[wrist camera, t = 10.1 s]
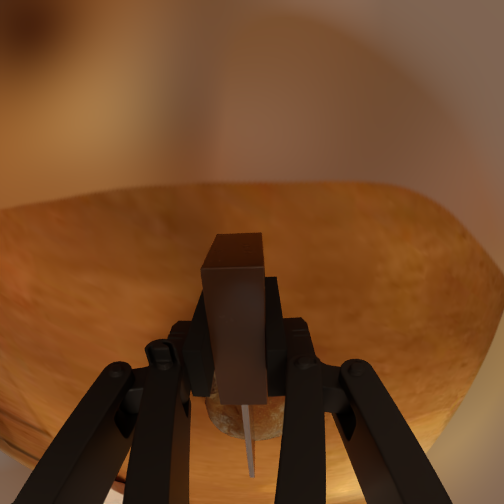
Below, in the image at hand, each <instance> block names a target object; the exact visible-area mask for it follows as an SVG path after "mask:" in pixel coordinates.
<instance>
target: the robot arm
mask: <svg viewBox="0 0 504 504" xmlns="http://www.w3.org/2000/svg"><path fill="white" fill-rule="evenodd" d="M265 307H266V361H267V389H268V397H277V396H285V406H284V418H283V429H282V440H281V450H280V459H279V469H278V477H277V486H276V494H275V502H274V504H326V452H325V421H324V412H330V413H332V416H333V418H334V421H335V423H336V426H337V428H338V431H339V433H340V436H341V438H342V441H343V443H344V446H345V448H346V451H347V453H348V456H349V459H350V461H351V464H352V466H353V469H354V471H355V474H356V476H357V479H358V482H359V484H360V487H361V489H362V492H363V495H364V497H365V500H366V502H367V504H452V502H451V500H450V498H449V496H448V494H447V492H446V490H445V488H444V487H443V485H442V483H441V481H440V479H439V478H438V476H437V474H436V472H435V470H434V469H433V467H432V465H431V463H430V462H429V460H428V458H427V457H426V455H425V453H424V451H423V449H422V448H421V446H420V444H419V442H418V441H417V439H416V437H415V436H414V434H413V432H412V431H411V429H410V427H409V426H408V424H407V422H406V421H405V419H404V417H403V416H402V414H401V412H400V411H399V409H398V407H397V406H396V404H395V403H394V401H393V399H392V398H391V396H390V395H389V393H388V391H387V390H386V388H385V387H384V385H383V383H382V382H381V380H380V379H379V377H378V375H377V374H376V372H375V371H374V369H373V368H372V366H371V365H370V364H369V363H368V362H366V361H364V360H360V359H350V360H347V361H345V362H344V363H343V364H342V365H341V367H337V366H330V365H326V364H324V363H322V362H321V361H320V359H319V358H318V357H317V356H316V355H315V352H314V348H313V344H312V340H311V337H310V333H309V329H308V326H307V323H306V322H305V321H304V320H303V319H302V318H301V317H299V318H283V316H282V309H281V303H280V296H279V290H278V284H277V277H265ZM145 352H146V355H147V359H148V362H149V366H148V367H144V368H137V369H132V368H131V366H130V365H129V364H128V363H126V362H121V361H118V362H113V363H111V364H109V365H108V366H107V367H105V368H104V370H103V371H102V372H101V374H100V375H99V376H98V378H97V379H96V381H95V382H94V383H93V385H92V386H91V387H90V389H89V390H88V391H87V393H86V394H85V396H84V397H83V398H82V400H81V401H80V402H79V404H78V405H77V407H76V408H75V409H74V411H73V412H72V414H71V415H70V417H69V418H68V419H67V421H66V422H65V424H64V425H63V427H62V428H61V429H60V431H59V432H58V434H57V435H56V437H55V438H54V440H53V441H52V443H51V444H50V446H49V447H48V449H47V450H46V452H45V453H44V455H43V456H42V458H41V459H40V461H39V462H38V464H37V465H36V467H35V468H34V470H33V472H32V473H31V475H30V476H29V478H28V480H27V481H26V483H25V484H24V486H23V488H22V489H21V491H20V493H19V494H18V496H17V498H16V499H15V501H14V502H13V503H12V504H103V503H104V501H105V499H106V497H107V495H108V493H109V491H110V489H111V487H112V485H113V482H114V480H115V478H116V476H117V474H118V472H119V470H120V468H121V466H122V464H123V462H124V460H125V458H126V456H127V454H128V452H129V450H130V447H131V451H130V457H129V463H128V469H127V475H126V481H125V488H124V495H123V503H122V504H189V452H190V419H191V401H190V397H189V396H190V391H191V390H192V394H193V396H198V397H210V393H211V387H212V381H213V375H214V364H213V357H212V351H211V344H210V338H209V331H208V324H207V317H206V310H205V302H204V294H203V290H202V293H201V296H200V298H199V301H198V304H197V307H196V310H195V313H194V316H193V318H192V321H178V322H177V323H176V324H174V325H173V326H172V328H171V331H170V334H169V335H168V339H159V340H155V341H152V342H150V343H149V344H148V345H147V346H146V347H145ZM131 445H132V446H131Z"/></svg>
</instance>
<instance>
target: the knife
mask: <svg viewBox="0 0 504 504" xmlns="http://www.w3.org/2000/svg"><path fill="white" fill-rule="evenodd" d="M201 278H202V286H203V294H204V302H205V310H206V317H207V324H208V331H209V338H210V344H211V351H212V357H213V364H214V370H215V376H216V382H217V387H218V393H219V399H220V404H221V405H241V408H242V417H243V426H244V434H245V443H246V451H247V459H248V467H249V475H250V477H255V431H254V416H253V405H266V404H267V361H266V307H265V268H264V255H263V242H262V233H237V234H217V235H216V237H215V239H214V241H213V243H212V245H211V248H210V250H209V252H208V254H207V256H206V258H205V260H204V263H203V265H202V267H201Z"/></svg>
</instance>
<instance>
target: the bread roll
mask: <svg viewBox="0 0 504 504" xmlns="http://www.w3.org/2000/svg"><path fill="white" fill-rule="evenodd" d="M205 404H206V408H207V411H208V415H209V417H210V419H211V421H212V422H213V423H214V425H215V426H216V427H217V428H218V429H219V430H220V431H222V432H223V433H225V434H227V435H229V436H231V437H236V438H240V439H245V434H244V426H243V417H242V408H241V405H221V404H220V399H219V393H218V387H217V382H216V376H215V371H214V376H213V381H212V387H211V393H210V397H206V400H205ZM284 406H285V396H277V397H268V389H267V404H266V405H253V416H254V431H255V441H258V440H266V439H271V438H274V437H278V436H281V435H282V429H283V418H284Z"/></svg>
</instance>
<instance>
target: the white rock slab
mask: <svg viewBox="0 0 504 504" xmlns="http://www.w3.org/2000/svg"><path fill="white" fill-rule="evenodd" d="M124 488H125V484H124V483H122V482H117V481H114V482H113V485H112V487H111V489H110V491H109V493H108V495H107V497H106V499H105V501H104V503H103V504H122V503H123V495H124Z"/></svg>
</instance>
